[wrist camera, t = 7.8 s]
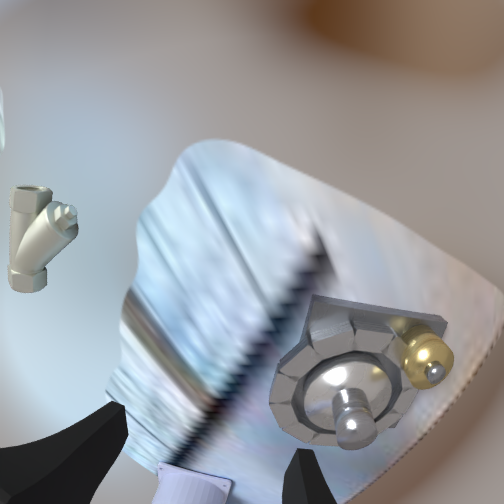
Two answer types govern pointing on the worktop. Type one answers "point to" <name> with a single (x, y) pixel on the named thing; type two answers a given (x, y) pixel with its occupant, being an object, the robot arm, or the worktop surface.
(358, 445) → the silver stemmed round piece
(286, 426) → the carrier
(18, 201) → the pipe fitting
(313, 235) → the worktop surface
